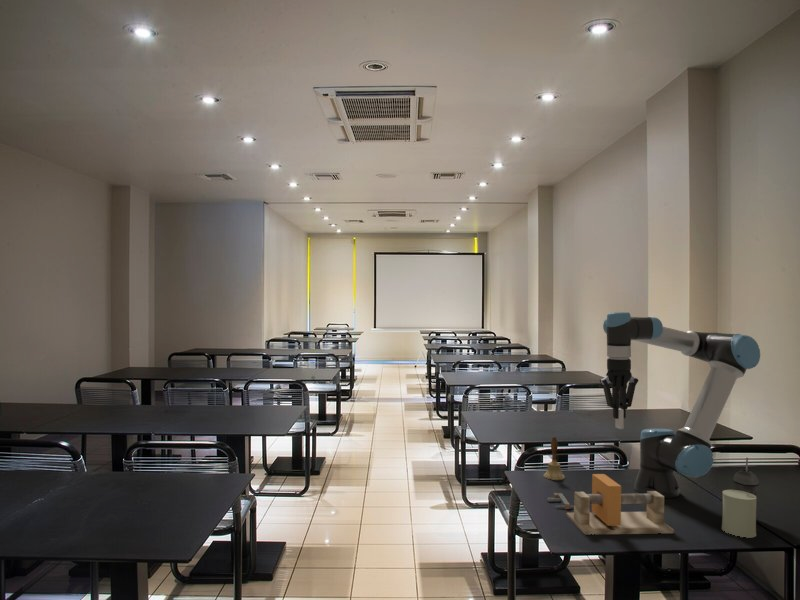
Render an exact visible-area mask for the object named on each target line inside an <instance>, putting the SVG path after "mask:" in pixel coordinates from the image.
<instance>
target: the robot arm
mask: <svg viewBox="0 0 800 600" xmlns="http://www.w3.org/2000/svg"><path fill="white" fill-rule="evenodd" d="M602 329H603V332H604V333H605V334H606V356H607V357H608V358H607V359H606V369H607V370H606V371H607V372H606V374H605V377H603V378H600V379H599V382H600V384H601V385H602V389H603V393H604V398H605V401H606V402H605V403H606V405H607V407H609V408H611V409H612V418H613V419H614V420H615V423H614V425H615V426H614V427H615V428H616V429H618V430H624V427H625V426H624V422H625V421H624V419H626V418H627V416H626V415H627V414H626V413H627V412H626V411H627V410H628V408H630V407H632V405H633V400H634V395H635V389H636V385H638V383H639V378H636V377H634V376H633V375H632V371H631V369H632V361H631V357H632V354H631V353H632V345H631V344H632V341H635V342H639V343H643V344H648V345H651V346H656V347H661V348H665V349H669V350H672V351H673V350H674V351H676V352H680V353H681V354H682V355H684V356H687V357H690V358H694V359H698V360H700V361H702V362H706V363H708V364H709V367H710V370H709V372H708V375H707V376H706V379H705V381H704V383H703V385H702V387H701V389H700V392H699V394H698V396H697V397H696V400H695V403H694V405H693V406H692V409H691V411H690V413H689V416H688V417H687V420H686V422H685V424H684V426H683V427H682V428H678V429H677V430H676V432H675V430H673V429H669V428H645V429H643V430H641V432H640V439H639V446H640V447H639V457H640V459H639V470H638V472H637V475H636V477H635V478H636V479H635V481H634V490H635V491H637V492H638V493H639V494H647V491H657V492H658V493H660V494H661V495H663V496H664V499H669V498H670V499H671V498H676V497H678V496H680V486H679V483H678V479H677V477H676V474H675V472H677V473H679V474H680V475H683V476H687V477H690V478H700V477H703V476H704V475H706V474H707V473H708V472H709V471H710V470H711V469H712V467H713V464H714V453H713V451H712V450H711V448H712V445H713V444H712V443H711V440H710V439H711V437H712V435H713V432H714V429H715V428H716V426H717V423H718V421H719V419H720V417H721V414H722V412H723V410H724V408H725V405H726V403H727V401H728V399H729V396H730V394H731V392H732V390H733V388H734V385H735V384H736V382H737V379H740V378H742V377H743V378H744V376H745V374H746V371H747V370H751V369H753V368H755V367H756V366H758V364H759V363H760V360H761V349H760V348H759V347H760V346H759V343H758V342H757V341H756V340H755V339H754V338H753V337H751V336H749V335H747V334H746V335H745V334H741V333H723V332H705V331H704V332H703V331H702V332H701V331H699V332H698V331H695V330H687V331H684V330H678V329H674V328H670V327H666V326H664V325H663V323H662V321H661V319H660V318H658V317H655V316H654V317H651V316H647V317H644V316H643V317H642V316H641V317H640V316H631V313H630V312H628V311H622V312H621V311H619V312H618V311H617V312H614V311H613V312H608V313H607V315H606V318H605V320H604V321H603V325H602ZM610 385H611V386H610Z"/></svg>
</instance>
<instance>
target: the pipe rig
mask: <svg viewBox="0 0 800 600" xmlns="http://www.w3.org/2000/svg"><path fill="white" fill-rule="evenodd" d="M573 496H574V497H573V506H574V508H573V512H566V514H565V515H566V517H567V518H568V519H569V520H570V521H571V522H572V523H573V524H574V525H575V526H576V527H577V528H578V529H579V531H581V532H582V533H583V534H584V535H591V534H592V535H594V534H595V535H644V534H645V535H646V534H649V535H651V534H654V535H655V534H658V533H661V534H675V529H673V527H671V526H669V525H668V524H667V523H665V498H664V496H663V495H661V494H660V493H658V492H657V491H647V494H642V493H621V505H622V504H623V505H627V504H628V505H630V504H631V505H634V504H636V505H638V504H642V505H643V504H644V505H645V504H646V511H621V525H620V526H608V525H607V524H606V523H604V522H603V521H602V520H601V519H600V518H599V517H598V516H597V515H596V514H594V513H593V512H592V511H591V510H590V508H591V505H592V504H603V495H602V494H592V493H586V492H585V491H574V494H573ZM595 535H594V536H595Z"/></svg>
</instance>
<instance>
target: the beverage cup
mask: <svg viewBox="0 0 800 600" xmlns="http://www.w3.org/2000/svg"><path fill="white" fill-rule="evenodd" d="M748 464H749V457H746V459H745V469H740V470H739V471H736V473H735V474H734V476H733V480H732V481H733V487H734V490H740V491H745V492H748V493H751V494H753V495H755V496H756V497H757V491H759V490H758V489H759V485H760V484H759V480H758V477H757V475H756V474H755V473H753V472H752V471H751V470H749V469H748V467H749V466H748Z"/></svg>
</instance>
